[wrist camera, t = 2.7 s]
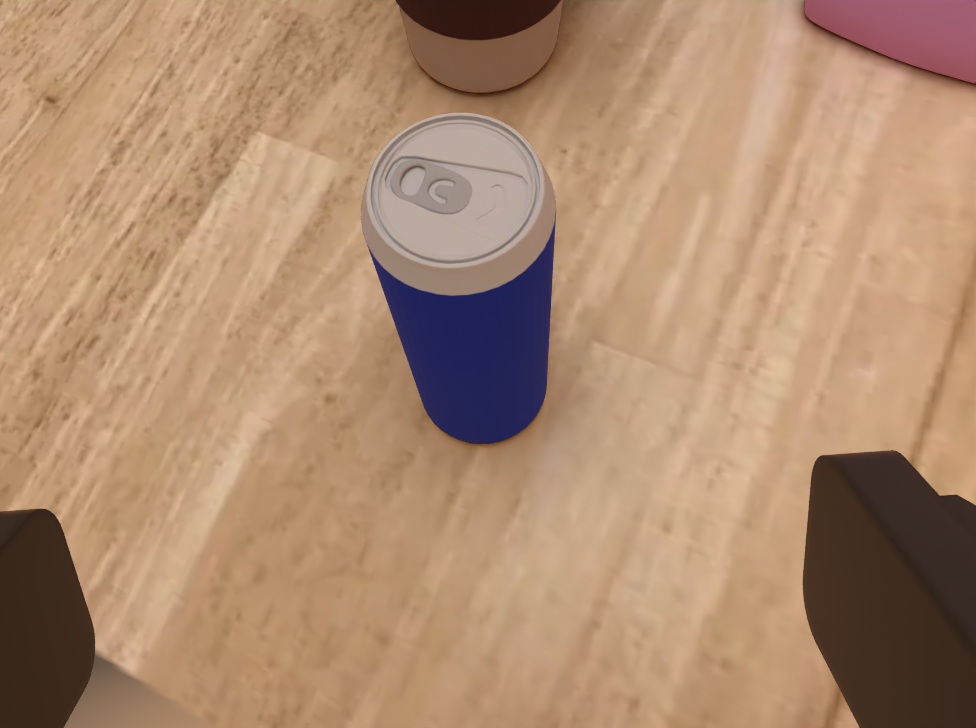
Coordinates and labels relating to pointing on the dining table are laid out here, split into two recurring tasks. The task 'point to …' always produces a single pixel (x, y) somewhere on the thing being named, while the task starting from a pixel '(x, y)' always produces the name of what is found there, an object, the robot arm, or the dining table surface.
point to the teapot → (907, 30)
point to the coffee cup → (481, 40)
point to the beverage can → (466, 268)
